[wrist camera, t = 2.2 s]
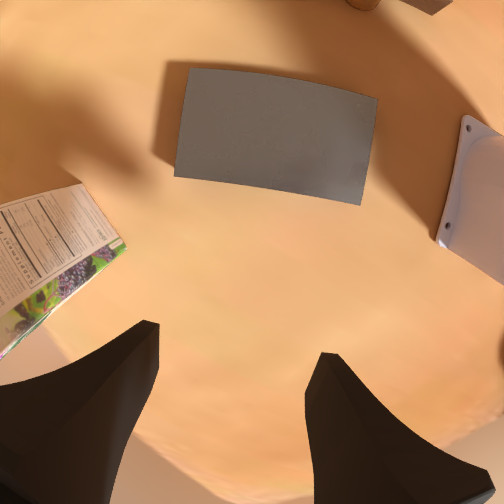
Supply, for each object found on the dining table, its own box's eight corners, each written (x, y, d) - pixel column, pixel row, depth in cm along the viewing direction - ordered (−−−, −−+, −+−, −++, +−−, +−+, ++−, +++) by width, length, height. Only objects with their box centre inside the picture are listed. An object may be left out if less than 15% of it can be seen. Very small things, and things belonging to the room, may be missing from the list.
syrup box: (83, 287, 20) (-43, 415, 6) (41, 226, 18) (-108, 310, 4) (130, 246, 18) (-30, 394, 5) (82, 177, 17) (-111, 242, 3)
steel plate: (347, 198, 17) (360, 205, 15) (185, 173, 17) (173, 176, 15) (363, 105, 15) (377, 99, 13) (199, 78, 15) (189, 67, 13)
